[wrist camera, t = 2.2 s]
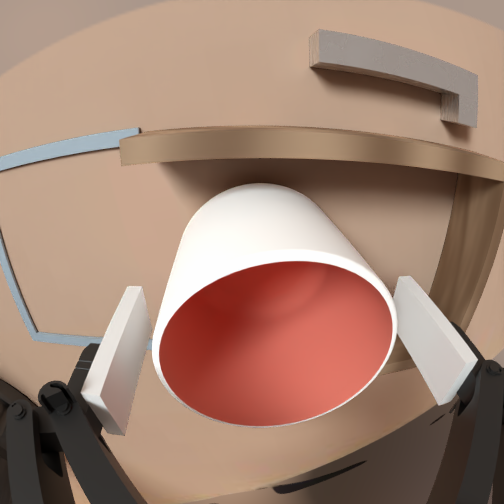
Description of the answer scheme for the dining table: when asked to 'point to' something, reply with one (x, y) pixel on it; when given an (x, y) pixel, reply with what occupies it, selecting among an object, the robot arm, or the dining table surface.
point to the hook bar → (399, 70)
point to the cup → (269, 312)
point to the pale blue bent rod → (3, 163)
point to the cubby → (377, 151)
